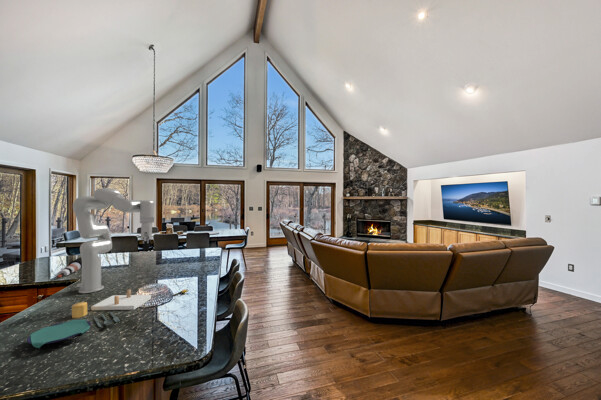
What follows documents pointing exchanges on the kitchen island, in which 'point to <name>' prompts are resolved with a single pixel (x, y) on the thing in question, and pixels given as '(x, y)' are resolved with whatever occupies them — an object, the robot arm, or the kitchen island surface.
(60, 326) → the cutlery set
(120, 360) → the kitchen island surface
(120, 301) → the plate
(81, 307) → the acorn cap nut
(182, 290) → the composite cable
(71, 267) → the striped roll
